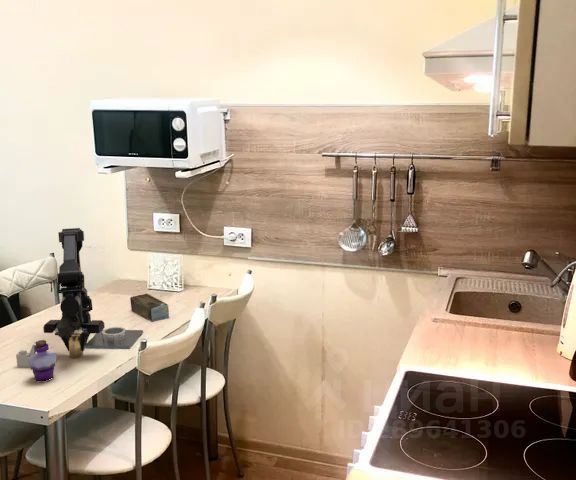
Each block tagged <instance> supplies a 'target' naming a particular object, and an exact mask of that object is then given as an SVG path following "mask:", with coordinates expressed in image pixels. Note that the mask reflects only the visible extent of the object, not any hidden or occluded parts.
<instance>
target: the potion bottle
mask: <svg viewBox="0 0 576 480" xmlns="http://www.w3.org/2000/svg"><path fill="white" fill-rule="evenodd" d="M35 342H36V345H35V346H34V352H36V353H35V354H34V355H32V356H30V357H28V362H29V365H30V367H29V368H30V370H31V371H32V373H33V376H34V381H35V380H36V381H35V382H37V381H46V380H49V379H51V378H53V379H54V372H55V367H56V363H57V353H55V352H50V351H48V350H50V349H49V348H50V347H49V344H48V343H47V341H46V340H45V339H40V340H37V341H35ZM51 380H52V379H51ZM49 381H50V380H49ZM46 382H47V381H46Z"/></svg>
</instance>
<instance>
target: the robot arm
mask: <svg viewBox="0 0 576 480" xmlns="http://www.w3.org/2000/svg"><path fill="white" fill-rule="evenodd" d="M84 241H85V231H84V230H82V229H81V228H80V227H78V228H77V227H76V228H75V227H74V228H62V230H61V231H59V232H58V243H61V248H62V249H63V262H62V263H61V264H60V265H59V269H58V270H59V271H58V272H57V274H56V278H57V279H56V281H57V282H56V283H57V294H58V295H59V294H61V296H62V298H61V302H60V306H59V307H60V308H59V309H60V311H61V318H60V319H50V320H48V321H47V322H45V324H44V325H43V327H42V329H43V333H44V334H53V333H54V336H58V337H59V338H60V339H61V340H62V342H63V344H64V346H65V348H66V349H67V352H69V343H68V335H72V334H73V333H75V331H79V330H82V332H80V336H81V348H82V351H83V352H85V349H86V348H85V346H86V343H87V342H88V341H89V337H90V335H92V334H94V335H96V334H97V333H100V332H101V331H102V330H105V329H106V328H105V322H104V321H103V320H102V319H98V320H97V319H94V320H93V319H91V316H92V315H91V313H90V312H91V311H92V310H93V301H92V298H91V297H90V295H88V289H87V288H86V287H85V274H84V272H83V271H82V267H81V256H80V251H81V250H82V248H83V242H84Z"/></svg>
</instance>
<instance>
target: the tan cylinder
mask: <svg viewBox="0 0 576 480" xmlns="http://www.w3.org/2000/svg"><path fill="white" fill-rule="evenodd" d="M80 334H81V332H74V333H73V334H72V335H68V343H69V351H68V352H69V353H68V354H69V358H72V359H76V358H82V357H83V356H84V351H82V348H81V336H80Z"/></svg>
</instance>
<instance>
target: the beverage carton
mask: <svg viewBox="0 0 576 480" xmlns="http://www.w3.org/2000/svg"><path fill="white" fill-rule="evenodd" d="M129 299H130V307H131V308H130V310H131V311H132V312H133V313H136V314H137V315H139V316H141V317H143V318H144V319H146V320H148V321H150V322H152V323H153V322H158V321H162V320H166V319H167V320H168V319H169V318H170V313H169V312H170V311H169V304H167V303H166V302H164V301H162V300H160V299H158V298H157V297H155V296H153V295H150V294H148V293H143V294H138V295H135V296H130V298H129Z"/></svg>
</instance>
